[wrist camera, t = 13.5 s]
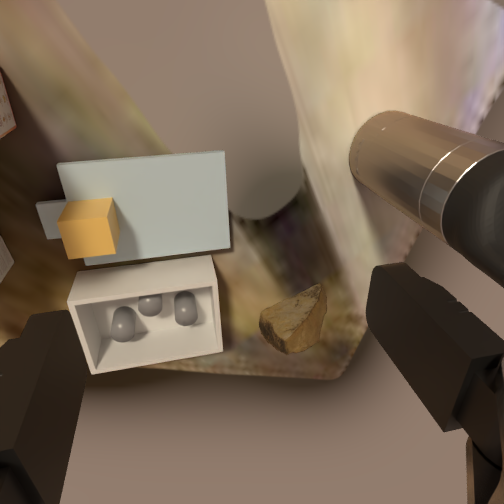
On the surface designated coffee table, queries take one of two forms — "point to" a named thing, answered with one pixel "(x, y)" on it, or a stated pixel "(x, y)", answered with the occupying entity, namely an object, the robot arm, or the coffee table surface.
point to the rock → (295, 321)
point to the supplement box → (4, 260)
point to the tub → (146, 313)
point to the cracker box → (5, 111)
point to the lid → (140, 207)
